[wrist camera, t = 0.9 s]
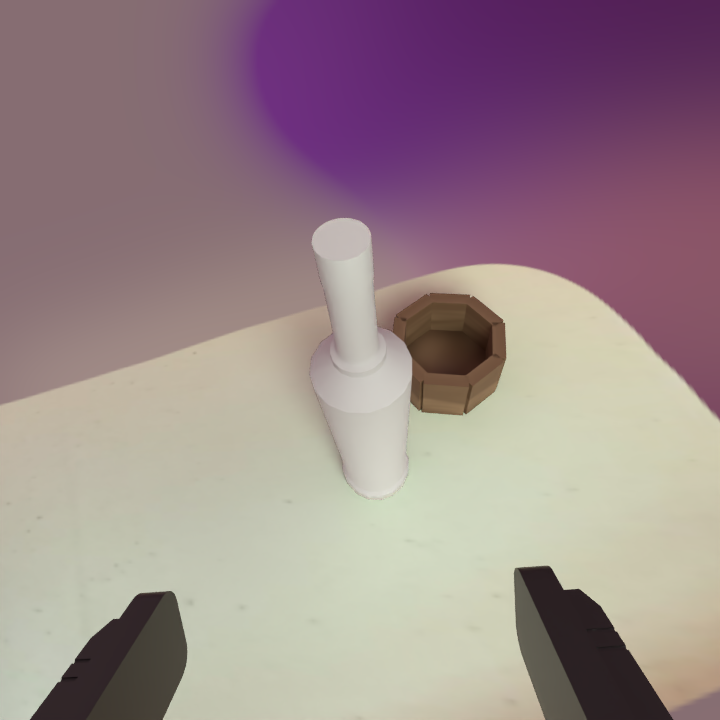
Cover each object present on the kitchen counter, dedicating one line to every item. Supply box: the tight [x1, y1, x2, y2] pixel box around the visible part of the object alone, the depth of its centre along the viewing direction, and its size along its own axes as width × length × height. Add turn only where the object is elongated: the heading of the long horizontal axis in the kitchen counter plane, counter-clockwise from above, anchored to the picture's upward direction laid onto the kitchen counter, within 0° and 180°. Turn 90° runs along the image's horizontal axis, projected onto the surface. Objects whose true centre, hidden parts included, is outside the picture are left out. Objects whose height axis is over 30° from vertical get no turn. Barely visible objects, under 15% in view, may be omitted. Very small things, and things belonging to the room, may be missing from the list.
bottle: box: [309, 218, 412, 500], centre depth 26 cm, size 5×5×25 cm
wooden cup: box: [393, 293, 506, 415], centre depth 39 cm, size 9×9×5 cm
